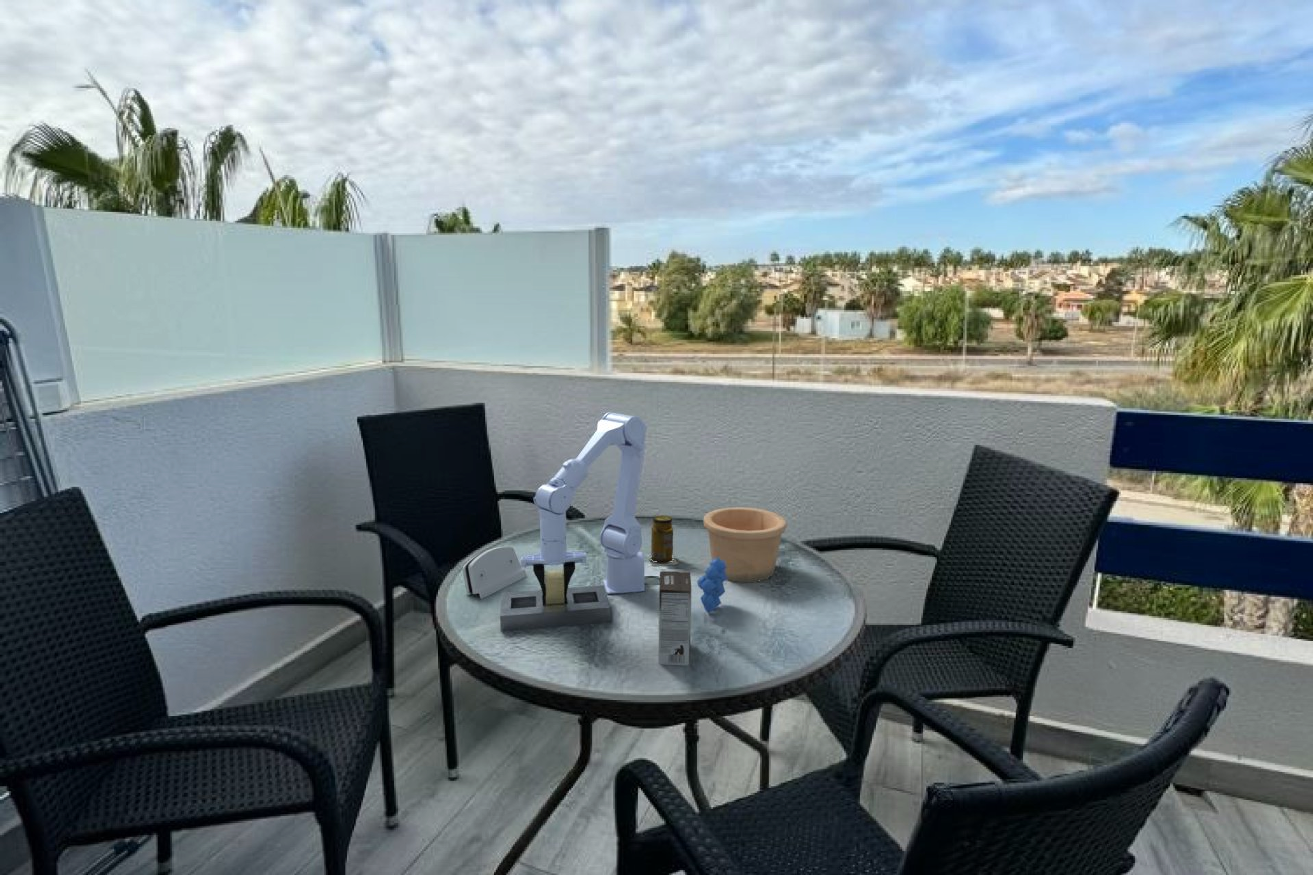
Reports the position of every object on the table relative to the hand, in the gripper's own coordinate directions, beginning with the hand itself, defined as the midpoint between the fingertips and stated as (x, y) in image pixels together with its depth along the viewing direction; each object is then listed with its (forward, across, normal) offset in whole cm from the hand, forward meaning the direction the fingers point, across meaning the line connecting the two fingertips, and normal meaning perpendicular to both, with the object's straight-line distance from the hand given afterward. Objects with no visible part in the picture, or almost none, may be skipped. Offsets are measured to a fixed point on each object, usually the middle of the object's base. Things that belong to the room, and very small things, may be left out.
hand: (554, 593), depth 149 cm
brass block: (+3, 0, 0) cm, 3 cm away
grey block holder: (+5, 0, 0) cm, 5 cm away
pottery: (+5, +51, +17) cm, 54 cm away
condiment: (+5, +31, +28) cm, 42 cm away
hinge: (+5, -14, +20) cm, 25 cm away
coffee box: (+5, +23, -22) cm, 32 cm away
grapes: (+5, +36, -3) cm, 36 cm away
